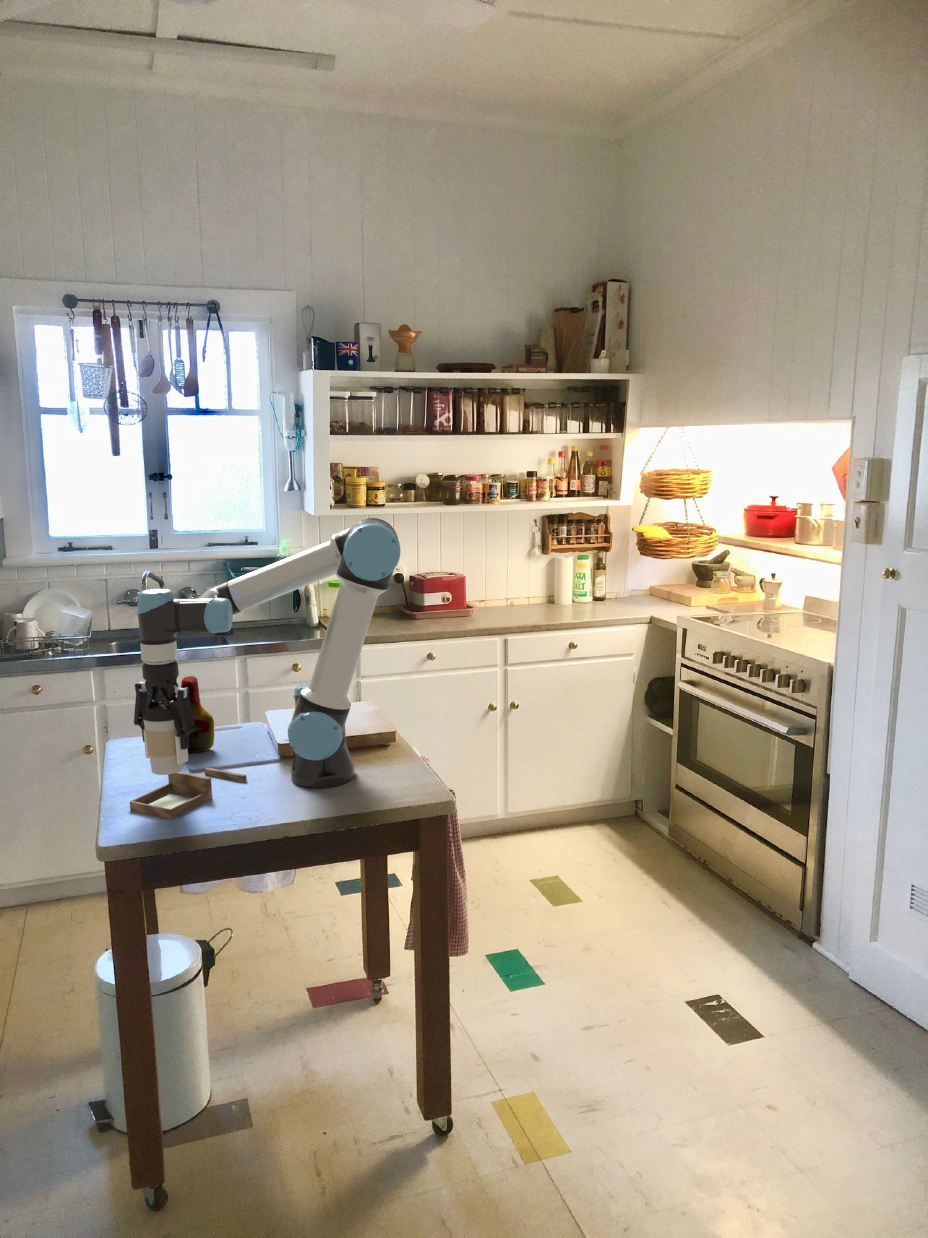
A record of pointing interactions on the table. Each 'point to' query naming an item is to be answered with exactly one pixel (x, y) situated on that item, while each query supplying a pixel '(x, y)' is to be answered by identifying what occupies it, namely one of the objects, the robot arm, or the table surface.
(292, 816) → the table surface
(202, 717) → the bottle
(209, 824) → the table surface
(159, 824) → the table surface
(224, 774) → the rail
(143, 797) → the tray
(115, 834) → the table surface
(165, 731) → the coffee cup
